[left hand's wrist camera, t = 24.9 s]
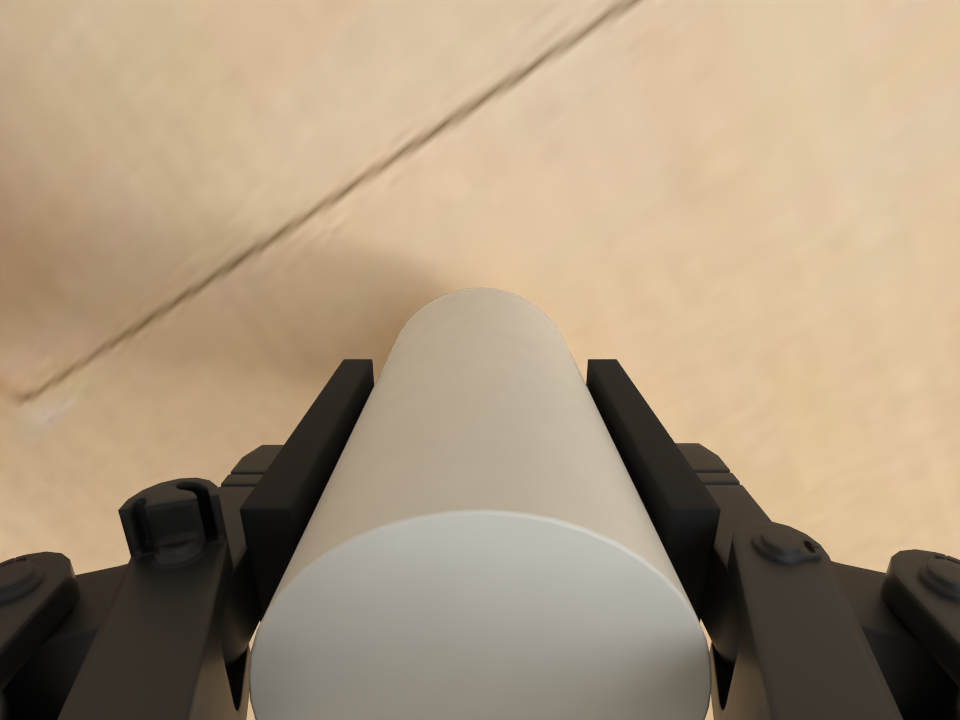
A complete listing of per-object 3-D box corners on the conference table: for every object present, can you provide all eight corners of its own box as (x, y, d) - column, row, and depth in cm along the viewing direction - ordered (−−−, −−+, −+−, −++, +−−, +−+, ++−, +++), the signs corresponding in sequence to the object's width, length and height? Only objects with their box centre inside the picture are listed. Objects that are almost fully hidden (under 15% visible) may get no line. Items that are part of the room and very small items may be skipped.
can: (501, 248, 15) (543, 414, 5) (605, 394, 17) (792, 739, 7) (351, 358, 17) (146, 667, 6) (462, 485, 18) (438, 895, 8)
